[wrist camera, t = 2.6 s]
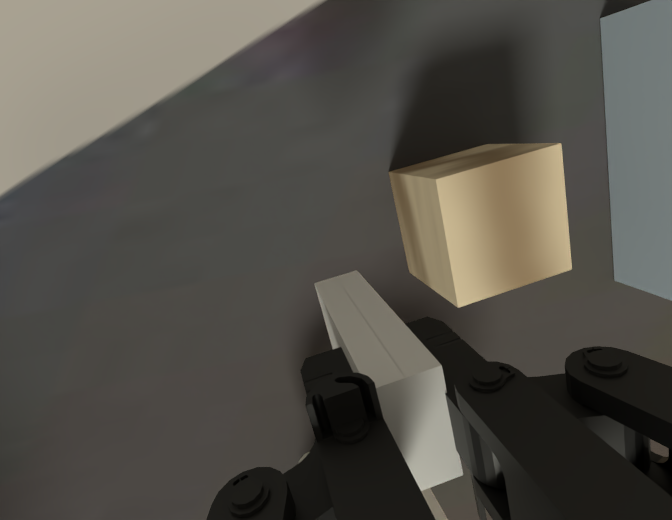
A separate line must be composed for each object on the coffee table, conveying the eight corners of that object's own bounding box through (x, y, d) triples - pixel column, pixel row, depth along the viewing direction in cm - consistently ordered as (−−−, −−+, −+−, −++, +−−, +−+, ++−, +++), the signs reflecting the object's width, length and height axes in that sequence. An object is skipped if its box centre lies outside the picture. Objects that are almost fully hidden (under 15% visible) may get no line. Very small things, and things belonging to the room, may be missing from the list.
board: (614, 280, 29) (688, 306, 24) (600, 18, 24) (689, -14, 19) (645, 269, 29) (725, 292, 24) (638, 8, 24) (734, -25, 20)
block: (408, 272, 25) (458, 307, 20) (388, 171, 24) (435, 179, 18) (499, 242, 26) (572, 269, 21) (486, 143, 24) (561, 143, 19)
